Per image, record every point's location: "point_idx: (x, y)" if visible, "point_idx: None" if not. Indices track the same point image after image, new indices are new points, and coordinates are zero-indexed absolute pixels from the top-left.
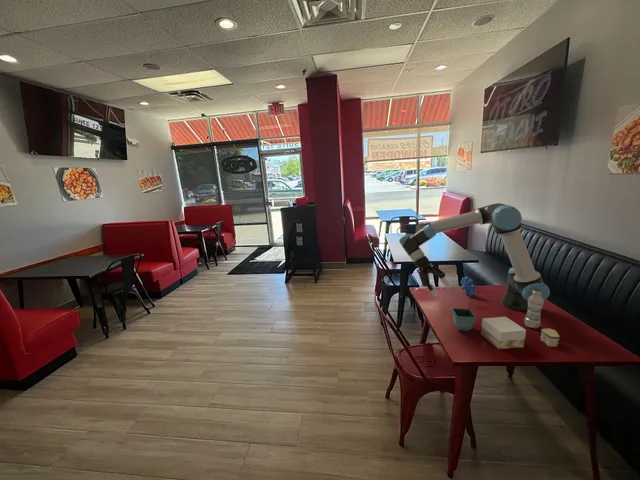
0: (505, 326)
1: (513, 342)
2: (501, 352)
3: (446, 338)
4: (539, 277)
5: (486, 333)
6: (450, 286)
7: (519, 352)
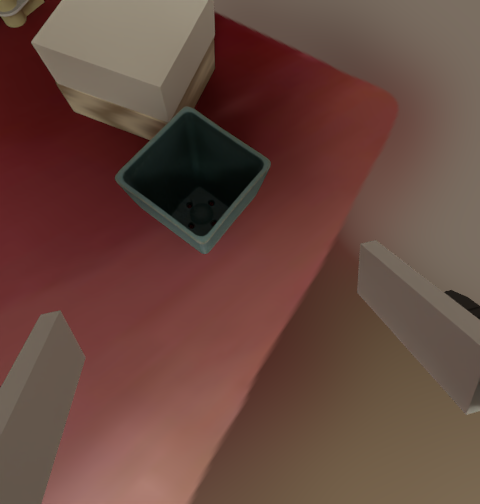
0: (141, 2)
1: None
2: (224, 55)
3: (335, 196)
4: None
5: (183, 105)
6: (55, 319)
7: None
